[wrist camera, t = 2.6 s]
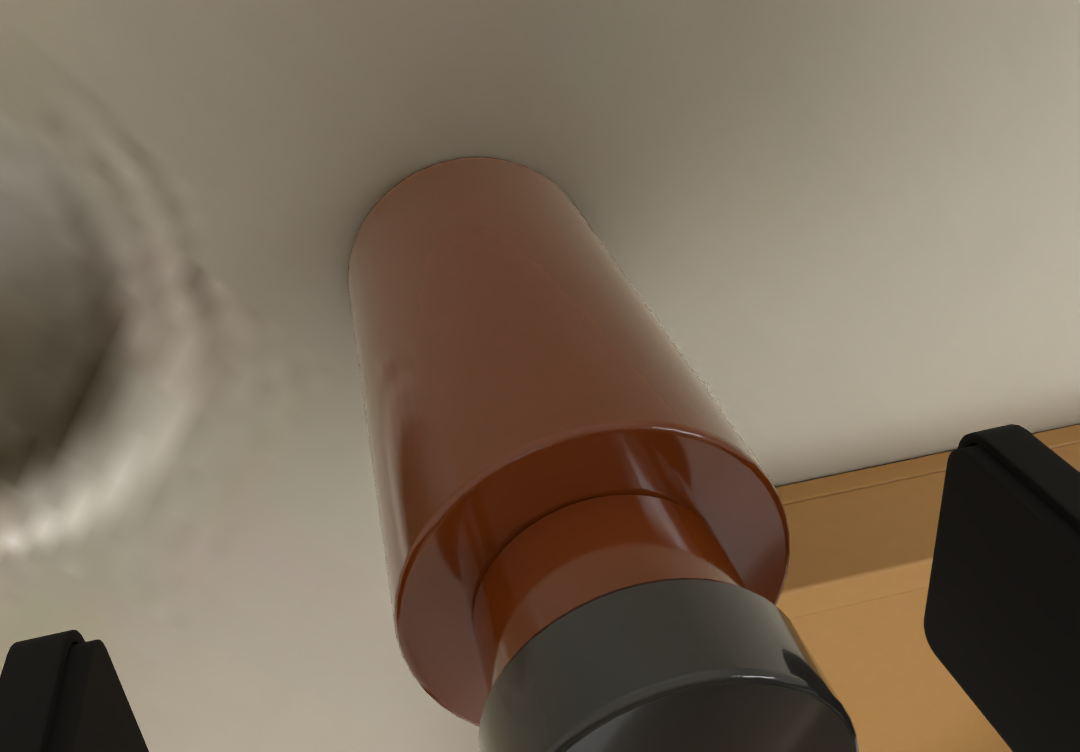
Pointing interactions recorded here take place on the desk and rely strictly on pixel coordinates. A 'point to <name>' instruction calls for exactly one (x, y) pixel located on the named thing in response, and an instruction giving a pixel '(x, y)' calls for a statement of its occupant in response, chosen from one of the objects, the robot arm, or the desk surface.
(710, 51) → the desk surface
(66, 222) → the desk surface
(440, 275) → the spice bottle
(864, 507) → the tray
